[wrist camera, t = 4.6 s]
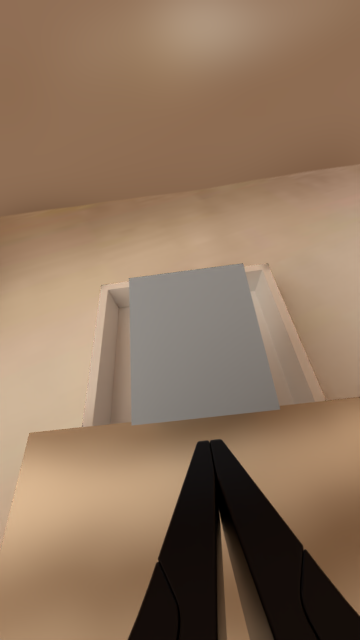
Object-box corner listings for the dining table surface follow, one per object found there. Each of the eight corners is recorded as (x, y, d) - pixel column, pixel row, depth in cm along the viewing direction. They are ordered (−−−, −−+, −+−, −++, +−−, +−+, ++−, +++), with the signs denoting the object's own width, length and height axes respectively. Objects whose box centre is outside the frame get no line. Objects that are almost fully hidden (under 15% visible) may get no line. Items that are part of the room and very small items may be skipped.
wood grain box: (421, 680, 11) (757, 1041, 4) (62, 703, 12) (-125, 1051, 5) (316, 412, 18) (386, 394, 11) (92, 436, 19) (29, 432, 12)
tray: (308, 423, 18) (333, 418, 14) (102, 444, 18) (79, 445, 15) (258, 287, 26) (267, 263, 22) (114, 305, 26) (101, 285, 23)
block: (280, 409, 8) (242, 263, 11) (131, 425, 8) (128, 278, 11) (250, 406, 13) (229, 304, 16) (154, 416, 13) (149, 314, 16)
